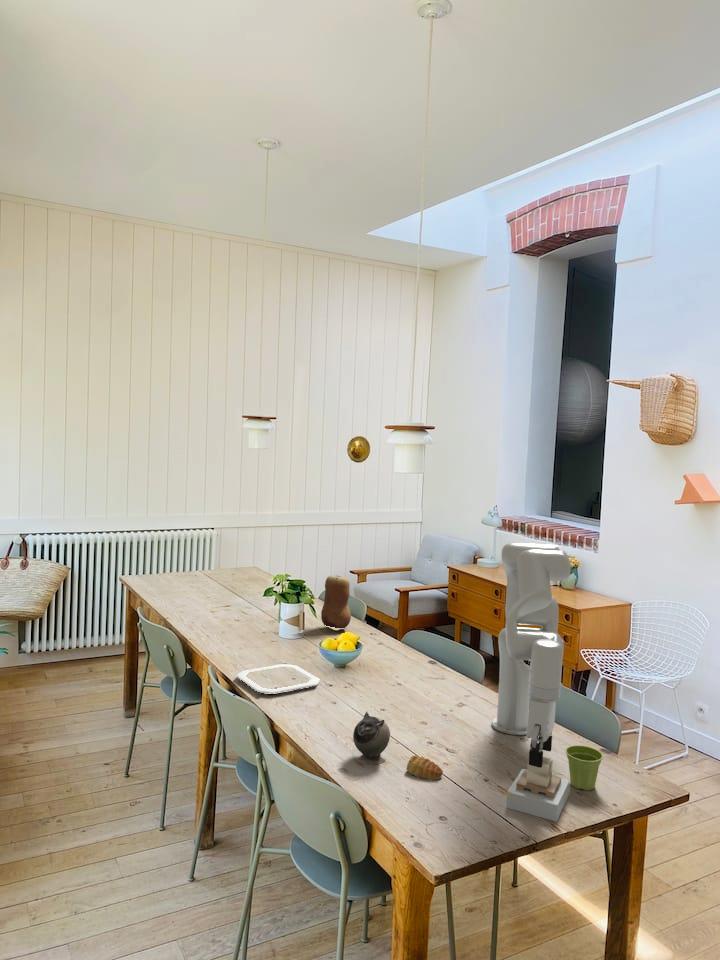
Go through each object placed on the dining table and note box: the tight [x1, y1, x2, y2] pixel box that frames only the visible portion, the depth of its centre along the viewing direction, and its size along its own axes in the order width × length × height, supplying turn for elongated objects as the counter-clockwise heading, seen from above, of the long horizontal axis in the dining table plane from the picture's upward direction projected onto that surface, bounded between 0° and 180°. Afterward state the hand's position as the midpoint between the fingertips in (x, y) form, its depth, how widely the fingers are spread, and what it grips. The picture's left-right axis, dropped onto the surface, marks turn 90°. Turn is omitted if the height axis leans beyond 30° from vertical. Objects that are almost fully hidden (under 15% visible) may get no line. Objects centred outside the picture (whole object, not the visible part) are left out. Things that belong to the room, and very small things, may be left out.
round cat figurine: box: [352, 711, 391, 765], centre depth 196 cm, size 10×12×10 cm
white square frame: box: [236, 663, 321, 694], centre depth 253 cm, size 25×25×2 cm
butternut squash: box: [320, 574, 352, 629], centre depth 324 cm, size 14×13×25 cm
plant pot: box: [564, 744, 604, 791], centre depth 186 cm, size 9×9×9 cm
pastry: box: [405, 755, 444, 781], centre depth 189 cm, size 9×7×4 cm
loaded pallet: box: [516, 756, 562, 798], centre depth 176 cm, size 9×9×6 cm
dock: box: [506, 768, 570, 823], centre depth 176 cm, size 14×12×4 cm
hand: (540, 757), depth 176 cm, fingers open, 9 cm apart
